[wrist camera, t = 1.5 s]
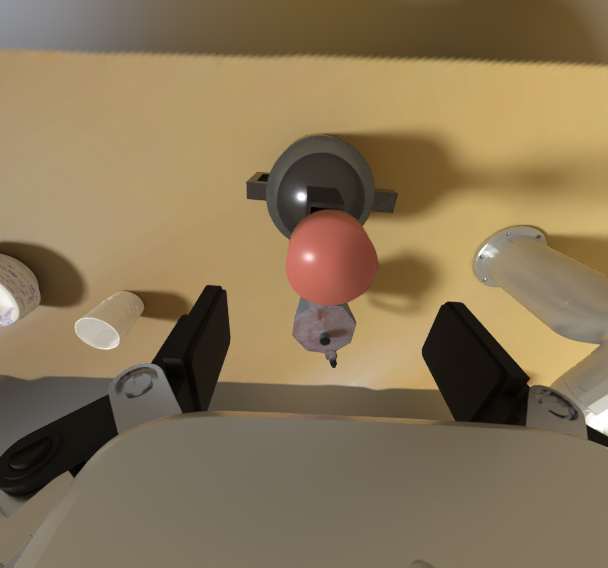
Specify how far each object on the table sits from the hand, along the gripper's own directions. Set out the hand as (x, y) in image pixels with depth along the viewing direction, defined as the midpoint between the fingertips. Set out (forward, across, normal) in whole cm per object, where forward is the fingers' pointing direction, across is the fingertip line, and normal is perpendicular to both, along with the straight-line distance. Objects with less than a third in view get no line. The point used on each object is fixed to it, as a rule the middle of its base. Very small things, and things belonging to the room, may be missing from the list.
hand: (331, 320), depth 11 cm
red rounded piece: (+16, -1, 0) cm, 16 cm away
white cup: (+38, +38, +29) cm, 61 cm away
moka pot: (+37, -4, +19) cm, 42 cm away
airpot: (+37, -1, 0) cm, 37 cm away
